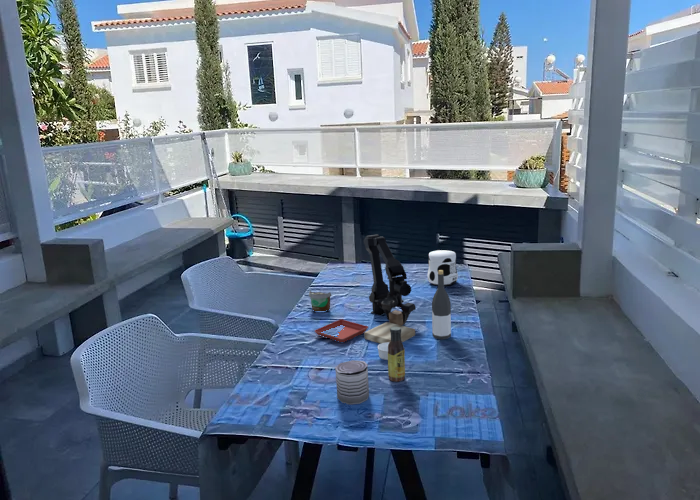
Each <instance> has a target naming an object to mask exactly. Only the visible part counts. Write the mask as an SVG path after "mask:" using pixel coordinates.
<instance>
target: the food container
mask: <svg viewBox="0 0 700 500" xmlns="http://www.w3.org/2000/svg"><path fill="white" fill-rule="evenodd" d="M331 297H332V293H331V291H329V292H321V291H319V292H317V291H316V292H315V291H314V292H312V290H309V293H308V298H310V299H309V300H310V304H311V309H312V310H311V311H313V310H314V311H326V310H329V309H330V310H331Z"/></svg>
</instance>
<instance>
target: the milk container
mask: <svg viewBox="0 0 700 500" xmlns="http://www.w3.org/2000/svg"><path fill="white" fill-rule="evenodd" d="M439 270H443V274H444V287H445V286H451V285H454V284H456V283H457V282H458V277H459V273H458V270H457V253H456V252H455V251H452V250H448V249H447V250H442V249H441V250H440V249H437V250H433V251H430V252H429V253H428V270H427V281H428V282H429V284H431V285H432V286H433V285H434V286H438V271H439Z"/></svg>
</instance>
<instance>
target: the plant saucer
mask: <svg viewBox="0 0 700 500" xmlns="http://www.w3.org/2000/svg"><path fill="white" fill-rule="evenodd" d="M340 325H343V326H345V327H344V328H343V329H344V330H343V329H342V330H341V331H340V332H338V333H339V335H337V336H338V337H334V336H331V335H327V334H324V333H321V332H323V331H326V330H329V329H331V328H335V327H337V326H340ZM368 330H369V326H367V325H364V324H360V323H357V322H353V321H348V320H346V319H341V318H340V319H338V320H336V321H333V322H331V323H329V324H327V325H324V326H322V327H319V328H316V329H315V330H314V332H315V334H316V335H318V336H319V335H321V336H324V337H327V338H330V339H329V340H331V339H333V340H332V341H334V340H336V341H335V342H337V341H339V342H338V343H340V342H344V343H345V341H346V342H348V341H351V340H353V339H354V337H355V338H356V336H357V337H358V335H359V336H361V335H362V334H364V332H366V331H368ZM321 336H320V337H321ZM324 337H323V338H324ZM327 338H326V339H327ZM347 340H348V341H347Z"/></svg>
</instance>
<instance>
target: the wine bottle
mask: <svg viewBox="0 0 700 500" xmlns="http://www.w3.org/2000/svg"><path fill="white" fill-rule="evenodd" d="M451 304H452V303H451V299H450V296H449V294H448V293H447V291H446V289H445V286H444V274H443V270H439V271H438V285H437V289H436V291H435V293H434V294H433V297H432V300H431V323H432V324H431V325H432V327H431V329H432V337H433V338H434V339H437V340H448V339H450V338H451V336H452V319H451V318H452V317H451V316H452V312H451V311H452V308H451V307H452V305H451Z"/></svg>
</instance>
